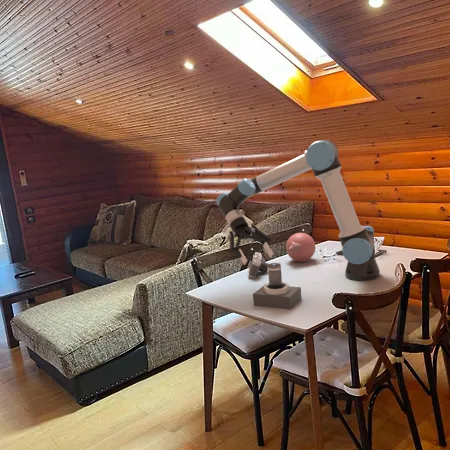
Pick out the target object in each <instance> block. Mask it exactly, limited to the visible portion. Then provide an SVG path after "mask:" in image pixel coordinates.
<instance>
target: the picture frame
mask: <svg viewBox="0 0 450 450" xmlns="http://www.w3.org/2000/svg"><path fill="white" fill-rule="evenodd" d="M342 250H343V249H341V250H338V251H335V255H336V254H337V255H336V256H342V257H344V255H343V251H342ZM378 251H379V252H377V253H376V254H375V258H377V257H379V256H378V255H380V254H382V253H384V252H386V251H388V249H387V250H386V249H379V250H378ZM386 253H387V252H386ZM384 254H385V253H384ZM382 255H383V254H382ZM376 256H377V257H376ZM380 256H381V255H380Z"/></svg>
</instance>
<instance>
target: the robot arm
mask: <svg viewBox="0 0 450 450" xmlns="http://www.w3.org/2000/svg"><path fill="white" fill-rule="evenodd" d="M341 169H342V164H341V161H340V158H339V148H338V146H337V145H336V143H335V142H333V141H332V140H328V139H321V140H317V141H314V142H313V143H311V144H310V146H309V147H307V149H306V150H305V151H304V153H303V154H301V155H299V156H297V157H295V158H293V159H291V160H288V161H287V162H284V163H282V164H280V165H278V166H276V167H274V168H272V169H270V170H268V171H266V172H264V173H261V174H259V175H257V176H256V177H253V178H251V179H249V178H243V179H242V180H241V181H239V182H238V183H237V185H236V186H235V187H234V188H233V189H232V190H231V191H230V192H222V193H221V194H219V195H218V196H217V197H216V200H215V201H216V204H217V206H218V209H219V210H220V212H221V214H222V215H223V216H224V218H225V220H226V222H227V224H228V225H229V228H230V231H229V233H228V238H229V252H230V253H233V254H236V256H237V257H238V259H240V260H241V263H242V264H243V265H246V264H247V262H248V259H247V257H246V256H245V255H244V252H243V251H242V249H241V248H240V244H241V241H243V240H245V239H247V240H248V239H250V240H253V241H256V242H258V243H260V244H261V245H262V246H263V248H264V250H265V251H266V253H267V254H268V256H269V258H272V257H273V256H274V252H273V250H272V247H271V244H270V240H271V238H270V237H269V236H268V235H266V234H265V233H264V232H263V231H261V230H260V229H258V227H257V226H256V225H253V226H252V227H249V225H248V222H247V221H246V218H245V217H244V215H243V214H242V212H241V210H240V208H239V207H240V206H241V205H242V204H243V203H245V201H246V200H247V199H249V198H251V197H253V196H256V195H258V194H260V193H261V192H264V191H266V190H269V189H270V188H273V187H275V186H277V185H279V184H282V183H284V182H286V181H288V180H290V179H293V178H295V177H297V176H299V175H301V174H303V173H306V172H308V171H310V170H312V172H313V175H314V178H317V179H319V180H320V183H321V186H322V188H323V191H324V194H325V196H326V198H327V201H328V203H329V206H330V209H331V212H332V213H333V216H334V218H335V221H336V224H337V226H338V229H339V231H340V232H339V234H338V239H339V242H340V244H341V246H342V249H341V250H342V251H343V255H344V256H343V257H344V259H345V260H346V267H345V271H344V275H345V276H344V277H346V278H347V279H350V280H353V281H371V280H376V279H378V278H380V276H381V273H380V268H379V266H378V265H379V264H378V263H377V260H376V257H375V249H376V248H375V230H374V227H373V226H371V225H361V223H360V221H359V218H358V216H357V213H356V210H355V208H354V207H355V206H354V205H353V202H352V200H351V198H350V194H349V192H348V190H347V186H346V184H345V182H344V179H343V176H342V173H341ZM235 237H237V238H236V239H237V240H236V242H235ZM235 243H236V244H235Z"/></svg>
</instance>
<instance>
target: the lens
mask: <svg viewBox="0 0 450 450" xmlns="http://www.w3.org/2000/svg"><path fill="white" fill-rule="evenodd" d="M267 268H268V270H267V273H268V282H269V286H270V289H280V288H283V287H282V282H283V278H282V264H281V263H279V262H272V263H268V267H267Z"/></svg>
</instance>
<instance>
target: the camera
mask: <svg viewBox="0 0 450 450" xmlns="http://www.w3.org/2000/svg"><path fill="white" fill-rule="evenodd" d="M262 258H263V257H262V253H260V252H257V251H255V252H254V254H253V256H252V258H251V262H250V264H249V266H248V277H250V278H252V279H256V278H257V275H258V272H260V273H265V274H266V273H268V268H267V267H268V264H269V263H268V262H266V261H263V260H262Z"/></svg>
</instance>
